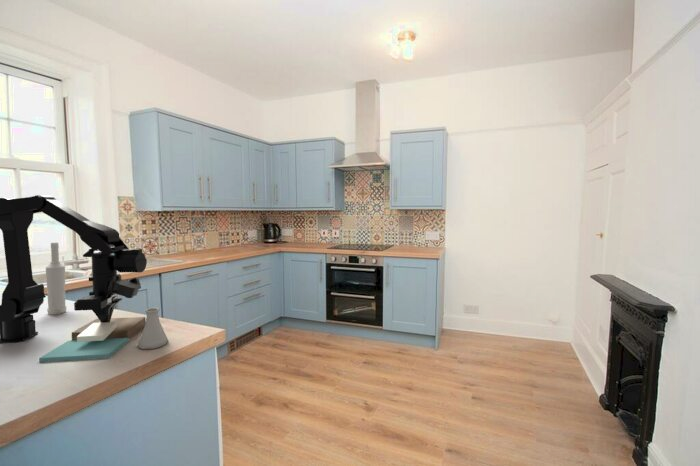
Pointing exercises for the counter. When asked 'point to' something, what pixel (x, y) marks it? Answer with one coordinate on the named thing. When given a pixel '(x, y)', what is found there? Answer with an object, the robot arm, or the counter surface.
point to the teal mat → (84, 350)
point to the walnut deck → (118, 327)
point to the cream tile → (97, 331)
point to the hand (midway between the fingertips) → (106, 325)
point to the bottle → (55, 283)
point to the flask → (152, 331)
